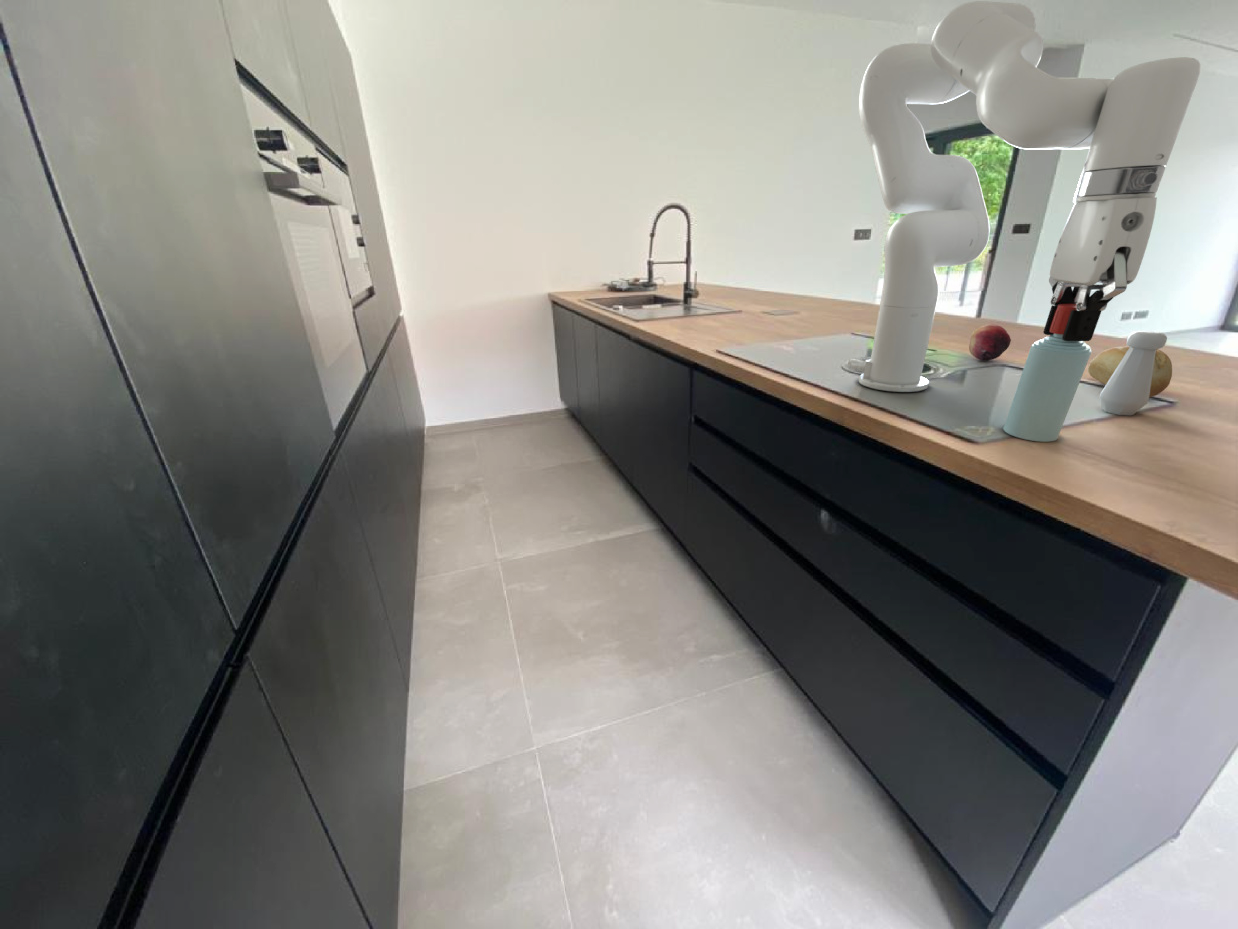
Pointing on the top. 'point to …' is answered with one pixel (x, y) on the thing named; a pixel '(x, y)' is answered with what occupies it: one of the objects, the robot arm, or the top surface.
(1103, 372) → the potato
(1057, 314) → the cap
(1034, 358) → the bottle
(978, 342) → the fruit
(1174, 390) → the top surface
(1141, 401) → the salt shaker
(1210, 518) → the top surface
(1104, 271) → the robot arm
